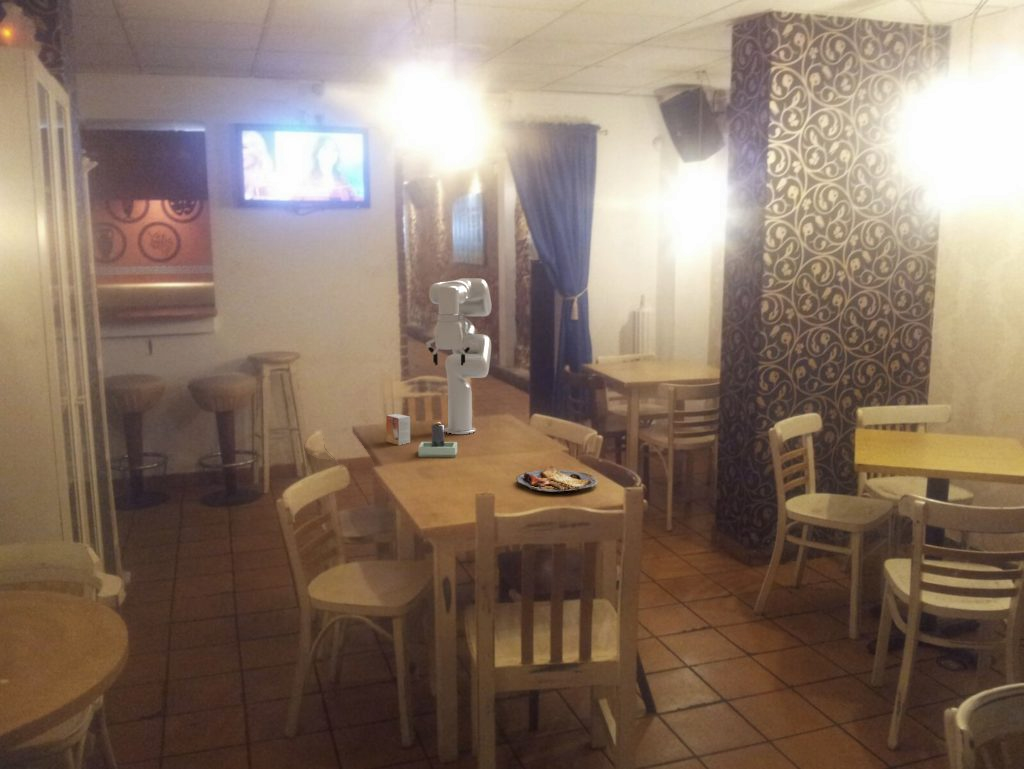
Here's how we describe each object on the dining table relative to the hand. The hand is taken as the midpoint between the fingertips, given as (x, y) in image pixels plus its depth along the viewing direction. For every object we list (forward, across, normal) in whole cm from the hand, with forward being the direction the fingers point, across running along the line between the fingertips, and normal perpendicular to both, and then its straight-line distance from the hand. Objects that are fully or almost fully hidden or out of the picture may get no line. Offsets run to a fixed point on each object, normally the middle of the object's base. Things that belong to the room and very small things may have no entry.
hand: (449, 364), depth 328 cm
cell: (+29, +3, +16) cm, 34 cm away
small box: (+31, +20, -3) cm, 37 cm away
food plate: (+31, -38, +57) cm, 75 cm away
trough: (+30, +3, +16) cm, 34 cm away
